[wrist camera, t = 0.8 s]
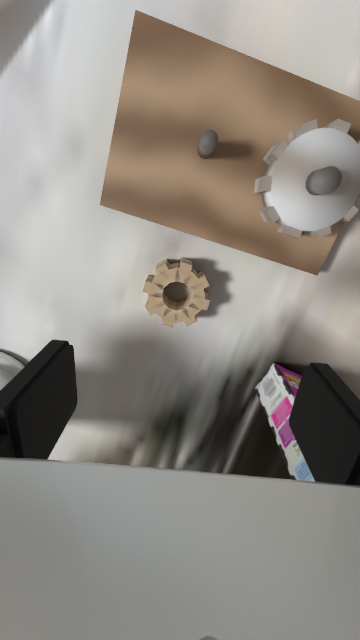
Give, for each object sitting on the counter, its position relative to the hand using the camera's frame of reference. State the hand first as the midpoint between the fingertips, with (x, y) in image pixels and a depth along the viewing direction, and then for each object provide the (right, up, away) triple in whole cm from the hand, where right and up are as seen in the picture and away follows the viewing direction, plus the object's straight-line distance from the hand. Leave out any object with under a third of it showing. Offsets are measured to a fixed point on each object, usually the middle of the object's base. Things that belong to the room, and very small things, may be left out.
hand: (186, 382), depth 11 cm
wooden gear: (-1, +6, +21) cm, 22 cm away
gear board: (+5, +18, +17) cm, 25 cm away
